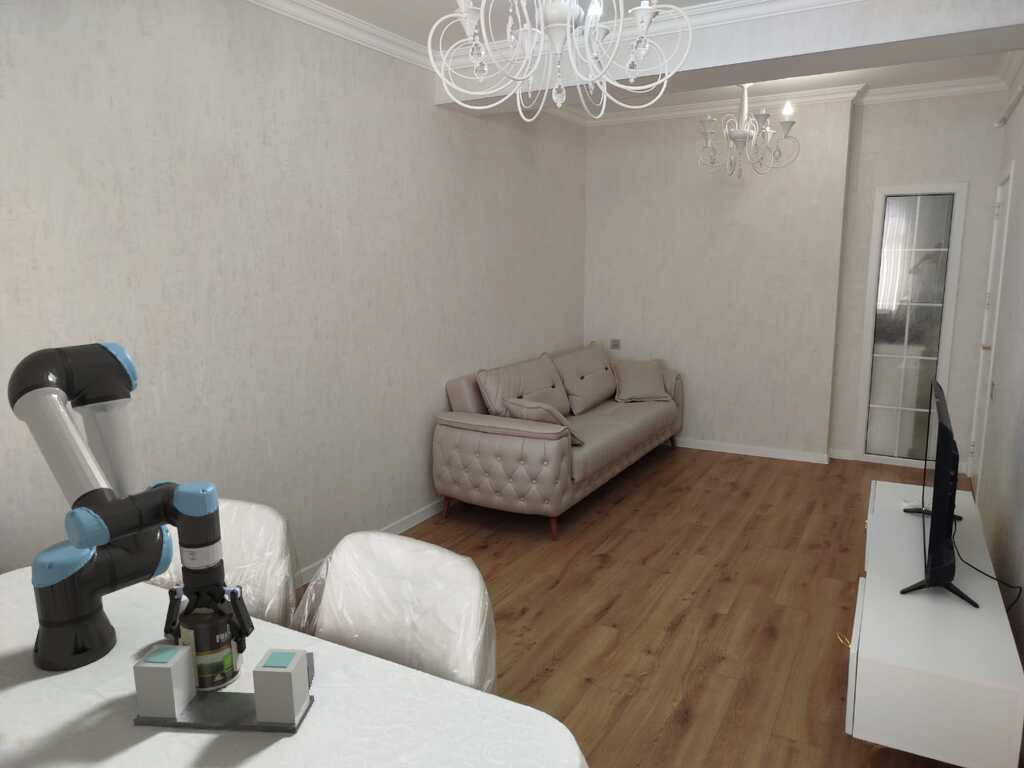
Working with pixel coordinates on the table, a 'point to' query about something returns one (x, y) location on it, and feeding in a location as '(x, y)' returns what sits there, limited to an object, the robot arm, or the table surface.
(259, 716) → the block
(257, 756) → the table surface
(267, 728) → the rail plate
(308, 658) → the charcoal block
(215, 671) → the coffee can
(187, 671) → the mounted module
